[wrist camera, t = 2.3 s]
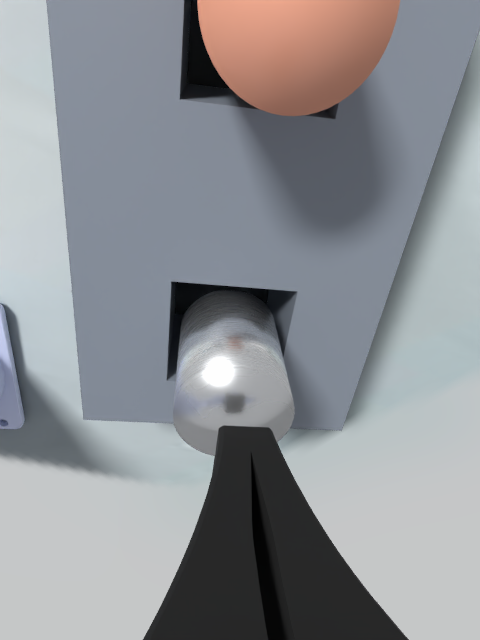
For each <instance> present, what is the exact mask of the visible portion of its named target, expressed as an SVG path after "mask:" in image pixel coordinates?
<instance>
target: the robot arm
mask: <svg viewBox="0 0 480 640" xmlns="http://www.w3.org/2000/svg"><path fill="white" fill-rule="evenodd" d="M2 419H3V420H2ZM4 420H6V421H4ZM24 422H25V417H24V412H23V407H22V401H21V396H20V390H19V385H18V380H17V374H16V369H15V363H14V358H13V353H12V347H11V342H10V336H9V331H8V326H7V320H6V315H5V310H4V307H3V306H2V305H1V304H0V429H19V428H21V427H22V426H23V424H24ZM143 640H409V639H408V638H407V637H406V636H405V635H404V634H403V633H402V632H401V630H400V629H399V628H398V627H397V626H396V624H395V623H394V622H393V621H392V620H391V619H390V617H389V616H388V615H387V614H386V613H385V611H384V610H383V609H382V608H381V607H380V605H379V604H378V603H377V602H376V601H375V600H374V598H373V597H372V596H371V595H370V594H369V592H368V591H367V590H366V588H365V587H364V586H363V584H362V583H361V582H360V580H359V579H358V578H357V577H356V575H355V574H354V573H353V571H352V570H351V568H350V567H349V566H348V564H347V563H346V562H345V560H344V559H343V557H342V556H341V555H340V553H339V552H338V551H337V549H336V547H335V546H334V544H333V543H332V541H331V540H330V539H329V537H328V536H327V534H326V532H325V531H324V529H323V527H322V526H321V524H320V523H319V521H318V519H317V518H316V516H315V515H314V513H313V511H312V509H311V508H310V506H309V505H308V503H307V501H306V499H305V497H304V495H303V494H302V492H301V490H300V488H299V486H298V485H297V483H296V481H295V479H294V477H293V475H292V473H291V471H290V469H289V467H288V465H287V463H286V461H285V459H284V457H283V455H282V453H281V451H280V448H279V446H278V444H277V441H276V439H275V437H274V434H273V431H272V430H271V429H270V428H269V427H248V426H226V425H223V426H222V427H220V428H219V430H218V437H217V444H216V452H215V459H214V466H213V473H212V478H211V482H210V485H209V489H208V493H207V496H206V499H205V502H204V505H203V508H202V511H201V514H200V516H199V519H198V522H197V525H196V528H195V530H194V533H193V535H192V538H191V540H190V543H189V545H188V548H187V550H186V553H185V555H184V557H183V559H182V562H181V564H180V566H179V569H178V571H177V573H176V575H175V577H174V579H173V582H172V584H171V586H170V588H169V590H168V592H167V594H166V597H165V599H164V601H163V603H162V605H161V607H160V609H159V611H158V613H157V615H156V616H155V618H154V620H153V622H152V624H151V626H150V628H149V630H148V631H147V633H146V635H145V637H144V639H143Z"/></svg>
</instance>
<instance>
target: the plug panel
mask: <svg viewBox="0 0 480 640" xmlns="http://www.w3.org/2000/svg"><path fill="white" fill-rule="evenodd" d="M46 1H47V13H48V24H49V35H50V47H51V58H52V69H53V81H54V92H55V103H56V114H57V126H58V137H59V148H60V160H61V171H62V182H63V194H64V205H65V216H66V228H67V239H68V250H69V262H70V273H71V284H72V295H73V307H74V318H75V329H76V341H77V352H78V363H79V375H80V386H81V397H82V409H83V420H103V421H127V422H151V423H174V422H173V406H174V394H175V383H176V372H177V361H178V350H179V339H180V328H181V322H182V319H183V316H184V314H175V295H176V282H185V283H197V284H210V285H223V286H235V287H248V288H260V289H269V292H268V298H267V303H266V306H267V307H268V308H269V309H270V311H271V313H272V315H273V318H274V322H275V326H276V330H277V334H278V339H279V343H280V347H281V351H282V355H283V360H284V364H285V368H286V372H287V377H288V381H289V385H290V389H291V393H292V398H293V402H294V407H295V414H294V419H293V422H292V425H291V427H290V428H294V429H318V430H342V428H343V425H344V422H345V419H346V416H347V414H348V411H349V408H350V405H351V402H352V399H353V396H354V393H355V390H356V387H357V385H358V382H359V379H360V376H361V373H362V370H363V367H364V364H365V361H366V358H367V355H368V353H369V350H370V347H371V344H372V341H373V338H374V335H375V332H376V329H377V326H378V323H379V321H380V318H381V315H382V312H383V309H384V306H385V303H386V300H387V297H388V294H389V291H390V289H391V286H392V283H393V280H394V277H395V274H396V271H397V268H398V265H399V262H400V259H401V257H402V254H403V251H404V248H405V245H406V242H407V239H408V236H409V233H410V230H411V227H412V225H413V222H414V219H415V216H416V213H417V210H418V207H419V204H420V201H421V198H422V195H423V193H424V190H425V187H426V184H427V181H428V178H429V175H430V172H431V169H432V166H433V163H434V161H435V158H436V155H437V152H438V149H439V146H440V143H441V140H442V137H443V134H444V131H445V129H446V126H447V123H448V120H449V117H450V114H451V111H452V108H453V105H454V102H455V99H456V97H457V94H458V91H459V88H460V85H461V82H462V79H463V76H464V73H465V70H466V67H467V65H468V62H469V59H470V56H471V53H472V50H473V47H474V44H475V41H476V38H477V35H478V33H479V30H480V0H400V5H399V10H398V15H397V20H396V23H395V27H394V30H393V33H392V36H391V38H390V41H389V43H388V45H387V48H386V50H385V52H384V54H383V55H382V57H381V59H380V61H379V63H378V64H377V65H376V67H375V68H374V70H373V71H372V73H371V74H370V75H369V76H368V78H367V79H366V80H365V81H364V82H363V83H362V84H361V85H360V86H359V87H358V88H357V89H356V90H355V91H354V92H353V93H352V94H351V95H349V96H348V97H346V98H345V99H343V100H342V101H341V102H339V103H337V104H335V105H333V106H332V107H330V108H328V109H325V110H322V111H320V112H317V113H313V114H308V115H302V116H282V115H277V114H272V113H268V112H266V111H263V110H260V109H258V108H256V107H254V106H252V105H250V104H249V103H247V102H246V101H244V100H243V99H242V98H240V97H239V96H238V95H237V94H236V93H235V92H234V91H233V90H232V89H227V88H219V87H211V86H204V85H196V84H189V83H187V67H188V48H189V29H190V10H191V0H46Z"/></svg>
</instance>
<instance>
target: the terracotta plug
mask: <svg viewBox="0 0 480 640" xmlns="http://www.w3.org/2000/svg"><path fill="white" fill-rule="evenodd" d="M399 5H400V0H198V1H197V6H198V16H199V24H200V28H201V33H202V38H203V41H204V44H205V47H206V50H207V52H208V54H209V57H210V59H211V61H212V63H213V65H214V67H215V68H216V70H217V72H218V73H219V75H220V76H221V78H222V79H223V80H224V81H225V83H226V84H227V85H228V86H229V88H230V89H232V90H233V91H234V92H235V93H236V94H237V95H238V96H239V97H240V98H242V99H243V100H244V101H246V102H247V103H249V104H250V105H252V106H254V107H256V108H258V109H260V110H263V111H266V112H268V113H272V114H277V115H282V116H302V115H308V114H313V113H317V112H320V111H322V110H325V109H328V108H330V107H332V106H333V105H335V104H337V103H339V102H341V101H342V100H343V99H345V98H346V97H348V96H349V95H351V94H352V93H353V92H354V91H355V90H356V89H357V88H358V87H359V86H360V85H361V84H362V83H363V82H364V81H365V80H366V79H367V78H368V76H369V75H370V74H371V73H372V71H373V70H374V68H375V67H376V65H377V64H378V63H379V61H380V59H381V57H382V55H383V54H384V52H385V50H386V48H387V45H388V43H389V41H390V38H391V36H392V33H393V30H394V27H395V23H396V20H397V15H398V10H399Z"/></svg>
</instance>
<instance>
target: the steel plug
mask: <svg viewBox="0 0 480 640" xmlns="http://www.w3.org/2000/svg"><path fill="white" fill-rule="evenodd" d="M294 414H295V407H294V402H293V398H292V393H291V389H290V385H289V381H288V377H287V372H286V368H285V364H284V360H283V355H282V351H281V347H280V343H279V339H278V334H277V330H276V326H275V322H274V318H273V315H272V313H271V311H270V309H269V308H268V307H267V306H266V304H265V303H264V302H263V301H261V300H260V299H259V298H257V297H255V296H254V295H252V294H249V293H247V292H243V291H239V290H219V291H214V292H211V293H208V294H206V295H204V296H202V297H200V298H199V299H197V300H196V301H195V302H194V303H193V304H192V305H191V306H190V307H189V308H188V309H187V311H186V312H185V314H184V316H183V319H182V322H181V328H180V339H179V350H178V361H177V372H176V383H175V394H174V406H173V422H174V426H175V428H176V431H177V432H178V434H179V435H180V437H181V438H182V439H183V440H184V441H185V442H186V443H187V444H188V445H190V446H191V447H193V448H195V449H196V450H198V451H201V452H203V453H206V454H209V455H213V456H215V452H216V444H217V437H218V430H219V428H220V427H222V426H223V425H226V426H248V427H269V428H270V429H271V430H272V431H273V434H274V437H275V439H276V441H277V442H278V441H279V440H281V439H282V437H283V436H284V435H285V434H286V433H287V432H288V430H289V428H290V427H291V425H292V422H293V419H294Z"/></svg>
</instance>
